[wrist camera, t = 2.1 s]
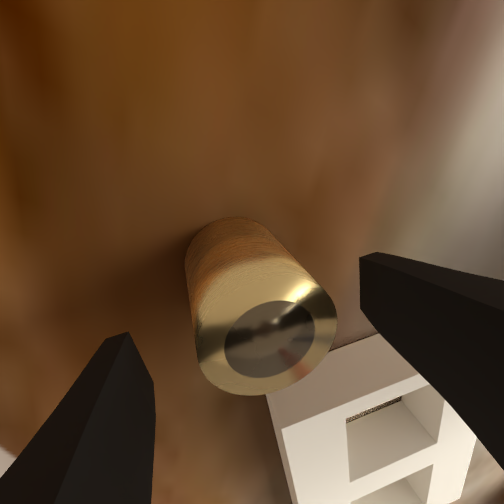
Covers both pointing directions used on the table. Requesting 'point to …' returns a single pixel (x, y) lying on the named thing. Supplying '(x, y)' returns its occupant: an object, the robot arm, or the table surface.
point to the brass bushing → (254, 309)
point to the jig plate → (369, 432)
